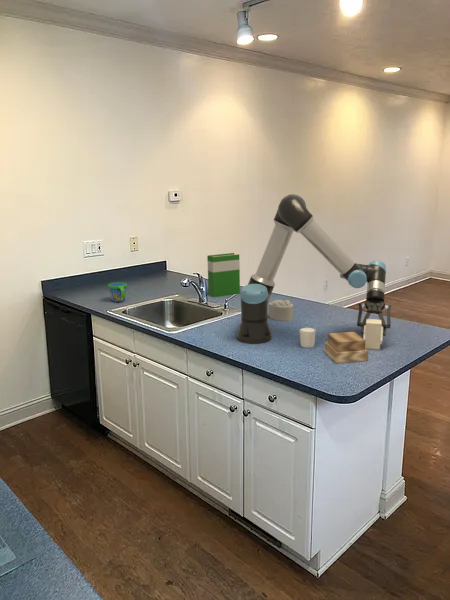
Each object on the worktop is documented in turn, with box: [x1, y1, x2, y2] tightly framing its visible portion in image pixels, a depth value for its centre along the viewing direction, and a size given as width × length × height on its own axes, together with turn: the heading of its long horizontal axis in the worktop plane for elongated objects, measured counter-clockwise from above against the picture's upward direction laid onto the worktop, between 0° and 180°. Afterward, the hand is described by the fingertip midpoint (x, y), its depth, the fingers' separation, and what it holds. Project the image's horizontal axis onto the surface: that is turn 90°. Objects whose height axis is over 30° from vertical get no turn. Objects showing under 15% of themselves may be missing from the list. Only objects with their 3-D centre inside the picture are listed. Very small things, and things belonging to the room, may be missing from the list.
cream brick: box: [365, 318, 382, 350], centre depth 207 cm, size 6×6×11 cm
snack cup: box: [107, 281, 128, 303], centre depth 290 cm, size 16×10×10 cm
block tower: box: [323, 331, 369, 364], centre depth 197 cm, size 13×13×8 cm
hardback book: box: [206, 252, 241, 298], centre depth 299 cm, size 18×7×24 cm, turn 117°
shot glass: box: [299, 327, 317, 349], centre depth 210 cm, size 7×7×7 cm
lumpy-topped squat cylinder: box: [268, 299, 294, 322], centre depth 250 cm, size 10×13×9 cm
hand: (372, 341), depth 204 cm, fingers closed on cream brick, 6 cm apart
